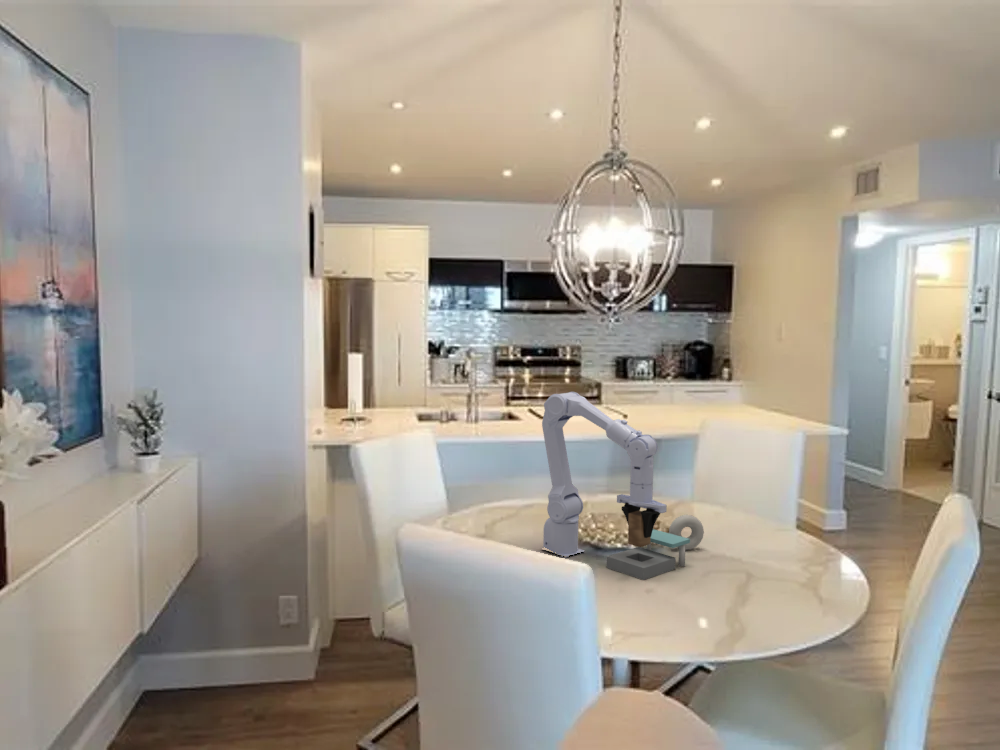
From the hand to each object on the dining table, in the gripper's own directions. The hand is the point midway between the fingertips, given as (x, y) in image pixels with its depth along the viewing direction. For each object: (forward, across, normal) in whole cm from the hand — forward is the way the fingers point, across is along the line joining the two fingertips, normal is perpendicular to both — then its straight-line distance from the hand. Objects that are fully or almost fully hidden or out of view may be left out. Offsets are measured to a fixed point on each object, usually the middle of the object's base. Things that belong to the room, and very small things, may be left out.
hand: (640, 535), depth 192 cm
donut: (+9, -2, +23) cm, 25 cm away
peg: (+2, 0, 0) cm, 2 cm away
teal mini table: (+9, 0, +9) cm, 12 cm away
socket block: (+9, 0, 0) cm, 9 cm away
